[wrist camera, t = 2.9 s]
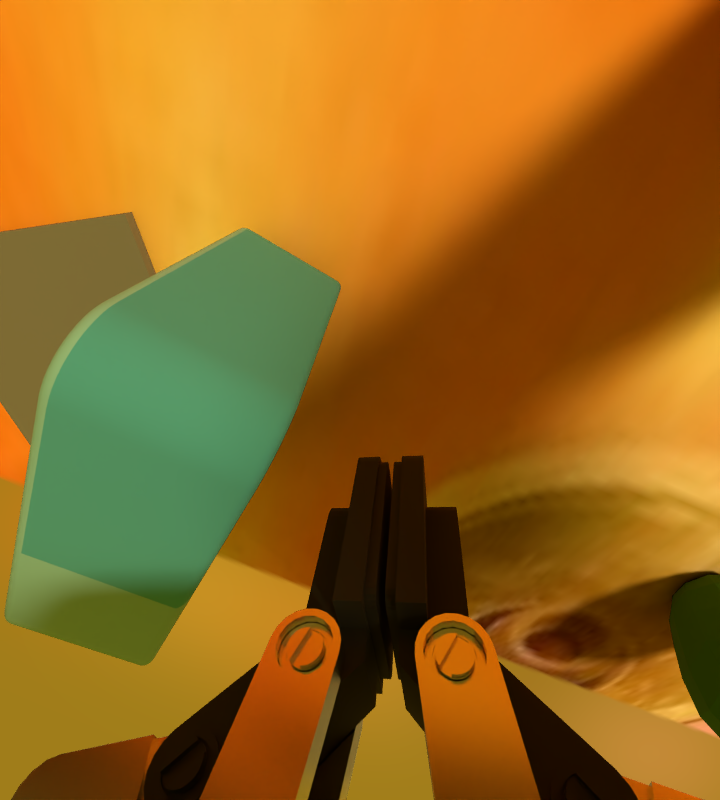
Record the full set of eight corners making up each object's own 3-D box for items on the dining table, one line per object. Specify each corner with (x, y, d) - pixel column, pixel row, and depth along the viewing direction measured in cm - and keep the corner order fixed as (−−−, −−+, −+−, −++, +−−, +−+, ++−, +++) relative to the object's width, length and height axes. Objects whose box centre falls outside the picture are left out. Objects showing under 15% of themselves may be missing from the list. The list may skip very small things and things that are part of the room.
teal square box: (247, 454, 24) (139, 685, 14) (172, 419, 23) (-5, 640, 13) (346, 275, 18) (286, 443, 8) (251, 219, 17) (41, 326, 7)
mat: (131, 212, 18) (124, 213, 17) (229, 461, 25) (226, 467, 24) (-96, 246, 20) (-107, 248, 19) (54, 466, 27) (48, 471, 27)
